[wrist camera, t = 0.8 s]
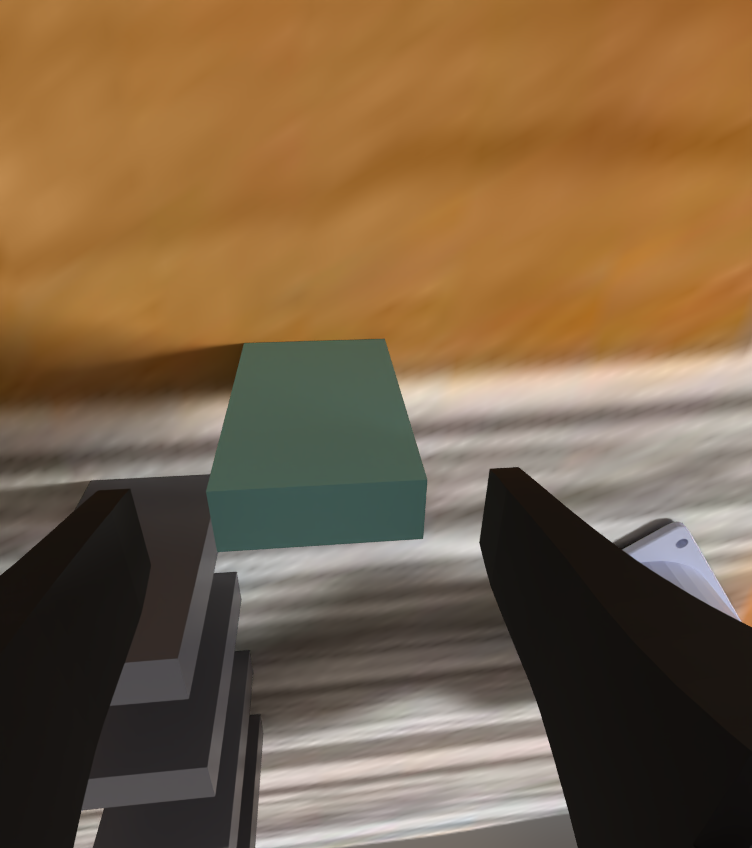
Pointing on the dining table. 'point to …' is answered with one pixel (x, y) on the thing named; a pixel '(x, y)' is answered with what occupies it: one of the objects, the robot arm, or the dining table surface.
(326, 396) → the tile
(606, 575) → the robot arm
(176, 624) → the tile
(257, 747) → the tile
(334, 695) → the dining table surface
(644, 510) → the dining table surface
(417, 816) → the dining table surface
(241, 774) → the tile
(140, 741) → the tile
